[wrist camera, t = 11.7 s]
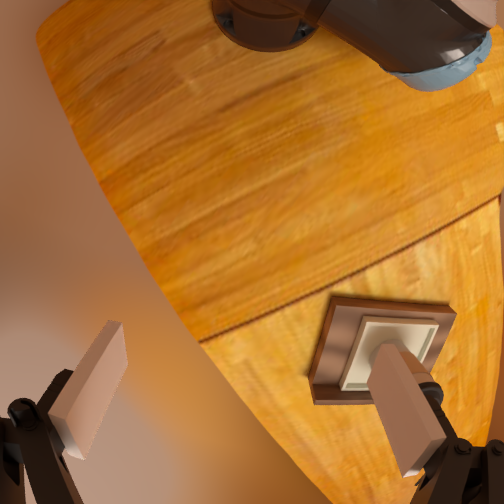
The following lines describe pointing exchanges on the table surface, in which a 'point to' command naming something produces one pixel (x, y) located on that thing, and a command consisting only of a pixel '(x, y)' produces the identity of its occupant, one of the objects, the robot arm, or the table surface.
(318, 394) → the shelf
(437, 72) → the robot arm
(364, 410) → the table surface
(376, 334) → the tray
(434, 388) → the coffee cup
